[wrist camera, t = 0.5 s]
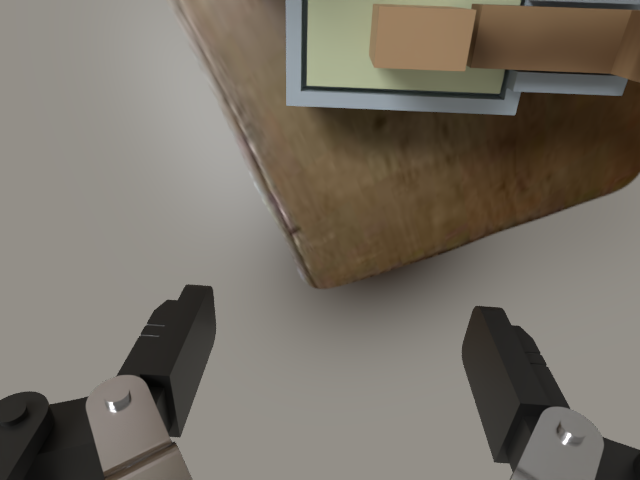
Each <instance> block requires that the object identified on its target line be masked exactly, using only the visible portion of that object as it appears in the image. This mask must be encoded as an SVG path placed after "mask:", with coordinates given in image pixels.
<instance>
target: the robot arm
mask: <svg viewBox="0 0 640 480" xmlns="http://www.w3.org/2000/svg"><path fill="white" fill-rule="evenodd" d="M215 334H216V319H215V307H214V296H213V289H212V287H211V286H202V285H186V286H185V287H184V289H183V291H182V293H181V295H180V297H179V299H178V301H177V300H166V301H165V302H164V303H163V304H162V305H160V306H159V307H158V308H157V309H156V310H154V312H153V313H152V315H151V317H150V319H149V320H148V322H147V326H145V327H144V329H143V331H142V332H141V336H139V338H138V340H137V341H136V343H135V345H134V347H133V348H132V350H131V352H130V354H129V355H128V357H127V359H126V360H125V362H124V364H123V366H122V367H121V369H120V371H119V373H118V375H117V376H116V377H113V378H110V379H108V380H106V381H104V382H102V383H101V384H99V385H98V386H97V387H96V388H95V389H94V390H93V391H92V392H91V393H90V395H89V396H88V397H85V398H81V399H76V400H71V401H66V402H61V403H55V404H50V405H49V403H48V401H47V399H46V397H45V396H44V395H42V394H40V393H37V392H21V393H16V394H13V395H10V396H8V397H6V398H4V399H2V400H0V480H192V477H191V475H190V473H189V471H188V468H187V466H186V464H185V461H184V459H183V457H182V455H181V452H180V451H179V448H178V446H177V445H176V443H175V442H172V441H171V439H170V437H180V436H181V434H182V431H183V428H184V425H185V423H186V420H187V417H188V414H189V411H190V409H191V406H192V403H193V400H194V397H195V395H196V392H197V389H198V386H199V383H200V380H201V378H202V375H203V372H204V369H205V367H206V364H207V361H208V358H209V355H210V353H211V350H212V347H213V344H214V340H215ZM462 360H463V365H464V368H465V371H466V374H467V377H468V381H469V384H470V387H471V390H472V393H473V396H474V399H475V403H476V406H477V409H478V412H479V415H480V418H481V422H482V425H483V428H484V431H485V434H486V437H487V440H488V444H489V447H490V449H491V453H492V456H493V459H494V462H497V463H510V466H511V469H512V471H513V474H512V476H511V478H510V480H640V450H638V449H635V448H632V447H629V446H626V445H623V444H621V443H617V442H614V441H611V440H609V439H606V438H604V437H602V435H601V434H600V432H599V431H598V429H597V428H596V426H595V425H594V424H593V423H592V422H591V421H590V420H588V419H587V418H586V417H584V416H583V415H581V414H580V413H578V412H576V411H574V410H571V409H570V407H569V405H568V403H567V402H566V400H565V398H564V396H563V394H562V392H561V390H560V388H559V387H558V385H557V383H556V381H555V379H554V378H553V375H552V374H551V372H550V370H549V368H548V367H546V362H545V360H544V359H543V357H542V355H540V351H539V349H538V347H537V346H536V344H535V342H534V340H533V338H532V337H530V336H529V335H528V334H527V333H526V332H525V331H524V330H523V329H522V328H521V327H520V326H512V325H511V324H510V322H509V320H508V318H507V315H506V313H505V311H504V310H503V309H502V308H498V307H484V306H475V308H474V309H473V311H472V315H471V318H470V321H469V325H468V328H467V331H466V334H465V337H464V341H463V345H462Z"/></svg>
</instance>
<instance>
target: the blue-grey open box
mask: <svg viewBox="0 0 640 480" xmlns="http://www.w3.org/2000/svg"><path fill="white" fill-rule="evenodd" d="M520 5H521V6H548V7H575V8H602V9H629V10H640V0H521V3H520ZM307 28H308V0H286V106H309V107H333V108H356V109H379V110H403V111H426V112H449V113H473V114H496V115H515V114H516V110H517V106H518V102H519V99H520V95H521V92H540V93H564V94H588V95H612V96H622V94H623V92H624V89H625V86H626V83H627V81H628V79H626V78H623V77H620V76H616V75H613V74H607V73H582V72H557V71H533V70H508V69H505V73H504V77H503V82H502V86H501V91H500V94H495V93H471V92H447V91H423V90H399V89H375V88H351V87H327V86H307Z"/></svg>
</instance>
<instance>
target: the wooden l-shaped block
mask: <svg viewBox="0 0 640 480" xmlns="http://www.w3.org/2000/svg"><path fill="white" fill-rule="evenodd" d="M471 9H474V10H476V15H475V21H474V26H473V31H472V37H471V42H470V47H469V53H468V58H467V64H466V65H467V66H468V67H470V68H483V69H508V70H533V71H557V72H582V73H607V74H613V75H616V76H620V77H623V78H626V79H629V80H633V81H636V82H639V83H640V10H629V9H602V8H575V7H548V6H521V5H494V4H472V7H471Z"/></svg>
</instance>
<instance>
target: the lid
mask: <svg viewBox="0 0 640 480" xmlns="http://www.w3.org/2000/svg"><path fill="white" fill-rule="evenodd" d="M520 3H521V0H308V28H307V86H327V87H351V88H375V89H399V90H423V91H447V92H471V93H495V94H500V91H501V86H502V82H503V77H504V73H505V69H483V68H470V67H468V66H467V65H466V64H467V58H468V53H469V47H470V42H471V37H472V31H473V26H474V21H475V15H476V10H474V9H471V7H472V4H494V5H520Z"/></svg>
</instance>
